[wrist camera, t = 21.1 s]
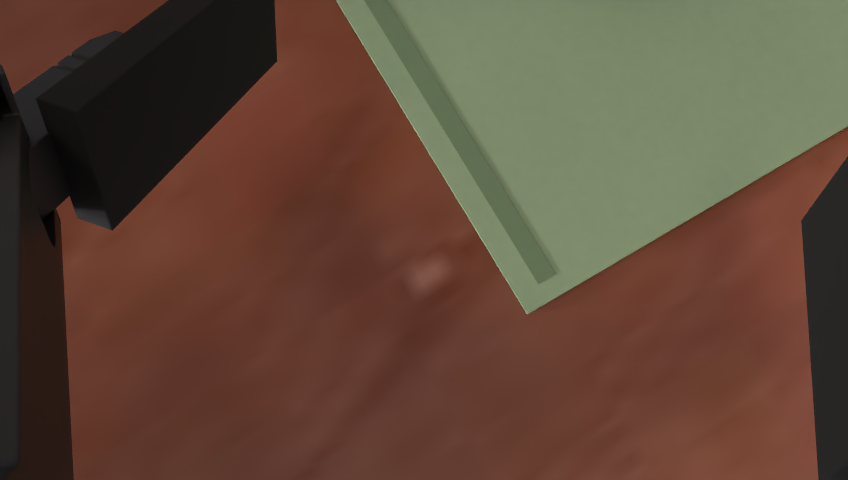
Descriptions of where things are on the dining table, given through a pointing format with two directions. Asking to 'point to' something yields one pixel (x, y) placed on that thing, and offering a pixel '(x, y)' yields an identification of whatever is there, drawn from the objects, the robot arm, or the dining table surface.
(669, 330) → the dining table surface
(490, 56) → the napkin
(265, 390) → the dining table surface
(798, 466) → the dining table surface
